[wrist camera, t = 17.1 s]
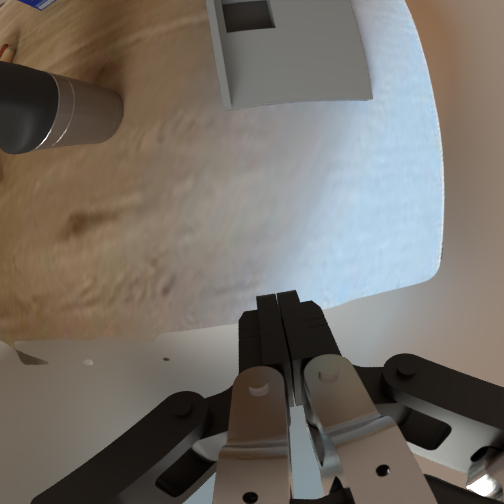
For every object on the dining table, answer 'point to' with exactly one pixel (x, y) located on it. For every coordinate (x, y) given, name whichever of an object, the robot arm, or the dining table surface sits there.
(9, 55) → the food
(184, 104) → the dining table surface
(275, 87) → the trap deck
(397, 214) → the dining table surface
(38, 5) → the milk carton
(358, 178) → the dining table surface
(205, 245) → the dining table surface
